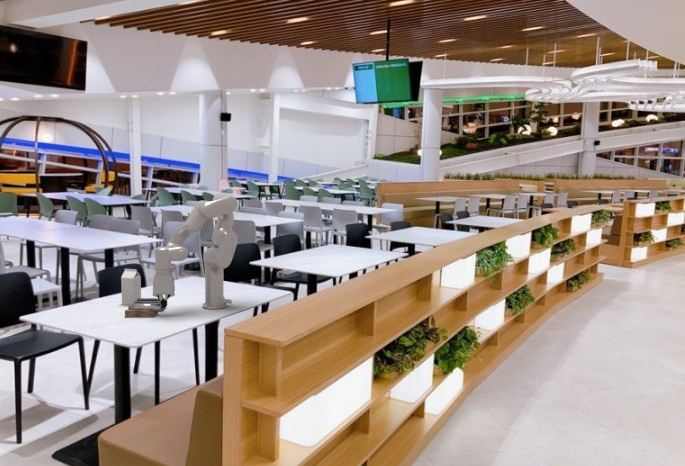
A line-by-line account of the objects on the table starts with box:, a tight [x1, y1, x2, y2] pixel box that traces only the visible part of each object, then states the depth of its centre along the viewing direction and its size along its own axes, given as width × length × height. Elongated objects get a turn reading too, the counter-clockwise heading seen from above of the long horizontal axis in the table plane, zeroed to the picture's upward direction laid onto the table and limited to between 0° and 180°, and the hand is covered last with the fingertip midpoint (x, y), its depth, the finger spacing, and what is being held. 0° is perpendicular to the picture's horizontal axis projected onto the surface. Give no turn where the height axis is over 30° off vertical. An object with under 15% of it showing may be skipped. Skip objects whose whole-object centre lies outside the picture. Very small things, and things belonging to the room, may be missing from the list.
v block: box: [134, 297, 166, 313], centre depth 299 cm, size 14×8×5 cm, turn 96°
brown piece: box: [124, 305, 159, 318], centre depth 289 cm, size 14×8×4 cm, turn 96°
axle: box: [130, 303, 161, 311], centre depth 289 cm, size 14×4×4 cm, turn 96°
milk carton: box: [120, 268, 142, 307], centre depth 308 cm, size 7×7×19 cm
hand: (164, 307), depth 290 cm, fingers closed
